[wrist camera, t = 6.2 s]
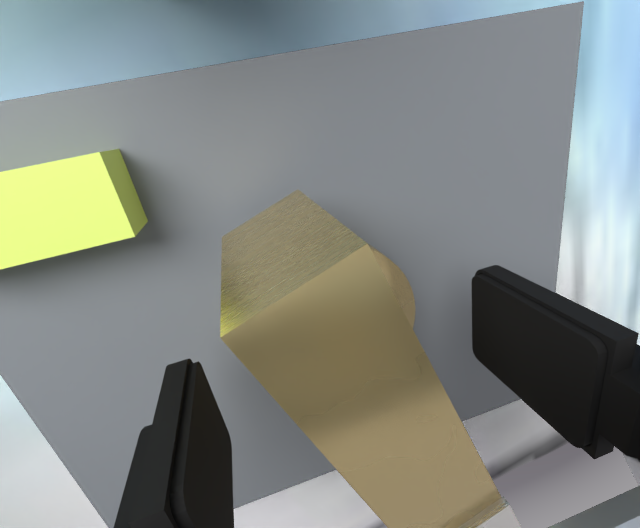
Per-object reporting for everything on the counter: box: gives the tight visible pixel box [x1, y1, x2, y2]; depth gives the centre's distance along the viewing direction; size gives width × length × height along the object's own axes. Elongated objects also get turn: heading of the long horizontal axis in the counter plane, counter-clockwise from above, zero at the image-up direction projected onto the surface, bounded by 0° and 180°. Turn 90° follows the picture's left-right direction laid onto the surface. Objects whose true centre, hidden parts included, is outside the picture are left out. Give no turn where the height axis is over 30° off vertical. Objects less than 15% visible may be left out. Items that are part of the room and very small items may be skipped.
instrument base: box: [0, 1, 584, 528], centre depth 13 cm, size 20×16×4 cm
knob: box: [220, 189, 522, 528], centre depth 9 cm, size 9×6×6 cm, turn 30°
